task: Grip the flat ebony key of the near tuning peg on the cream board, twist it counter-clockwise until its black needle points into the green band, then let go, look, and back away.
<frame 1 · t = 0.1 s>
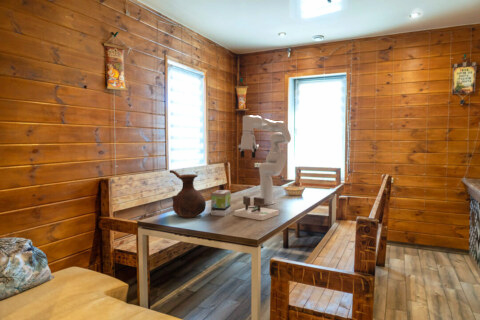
hand: (248, 157, 224), 37 cm above the table, tool pointing down, fingers open, 9 cm apart
near peg: (256, 205, 202), point 7 cm above the table, hinge at 0.0°
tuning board: (256, 214, 207), on the table
jug: (189, 215, 206), on the table
tea box: (221, 213, 212), on the table
far peg: (251, 202, 210), point 7 cm above the table, hinge at 150.0°
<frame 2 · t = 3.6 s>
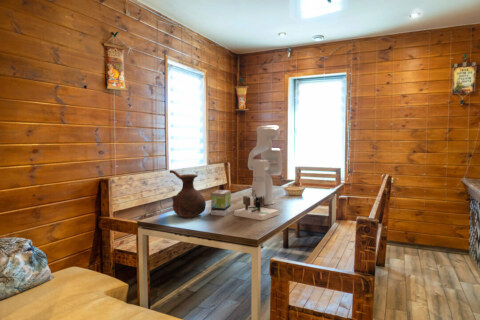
hand: (259, 207, 205), 5 cm above the table, tool pointing down, fingers closed on near peg, 2 cm apart
near peg: (256, 205, 202), point 7 cm above the table, hinge at 0.0°, touching gripper
everything else where it was.
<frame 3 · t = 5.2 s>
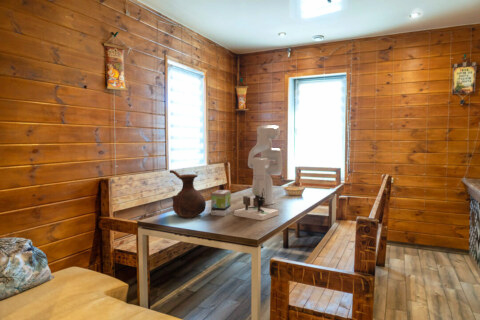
hand: (259, 205, 205), 7 cm above the table, tool pointing down, fingers closed on near peg, 2 cm apart
near peg: (260, 205, 202), point 7 cm above the table, hinge at 56.6°, touching gripper
everything else where it was.
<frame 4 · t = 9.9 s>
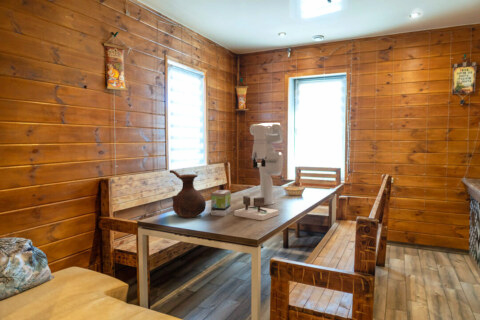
hand: (259, 167, 218), 30 cm above the table, tool pointing down, fingers open, 9 cm apart
near peg: (262, 205, 202), point 7 cm above the table, hinge at 69.5°
everything else where it was.
at the end: near peg at +70° (first picture: +0°); the gripper is holding nothing; far peg at +150° (first picture: +150°) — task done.
